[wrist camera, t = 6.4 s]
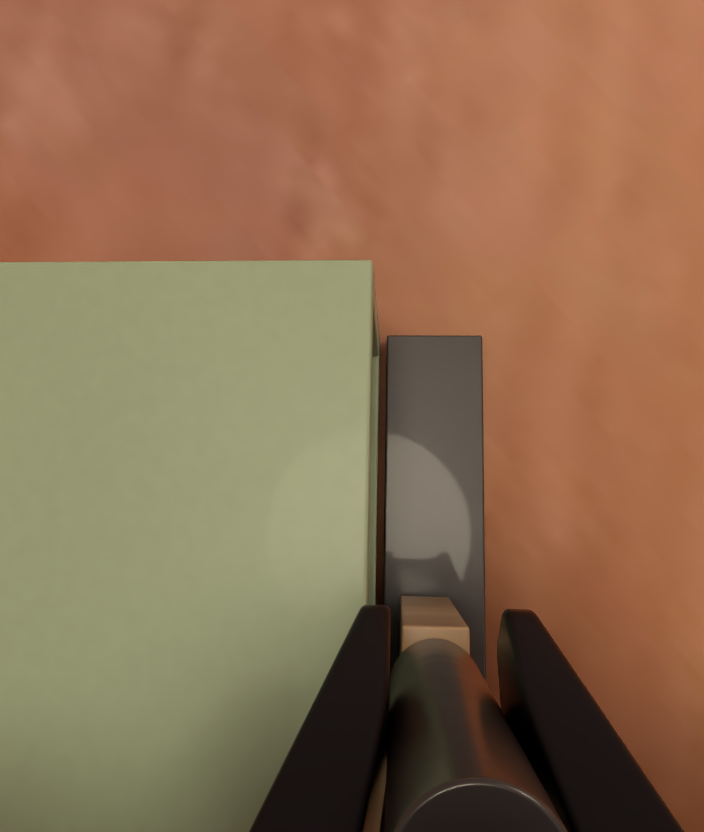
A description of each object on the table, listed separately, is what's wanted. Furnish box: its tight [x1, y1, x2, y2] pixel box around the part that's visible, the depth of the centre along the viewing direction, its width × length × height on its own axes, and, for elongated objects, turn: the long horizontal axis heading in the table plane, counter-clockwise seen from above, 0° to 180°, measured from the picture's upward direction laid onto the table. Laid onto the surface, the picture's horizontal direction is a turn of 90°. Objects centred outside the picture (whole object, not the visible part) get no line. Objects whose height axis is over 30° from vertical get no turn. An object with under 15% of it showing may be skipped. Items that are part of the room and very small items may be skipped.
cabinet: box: [0, 260, 486, 832], centre depth 13 cm, size 20×10×6 cm, turn 179°
